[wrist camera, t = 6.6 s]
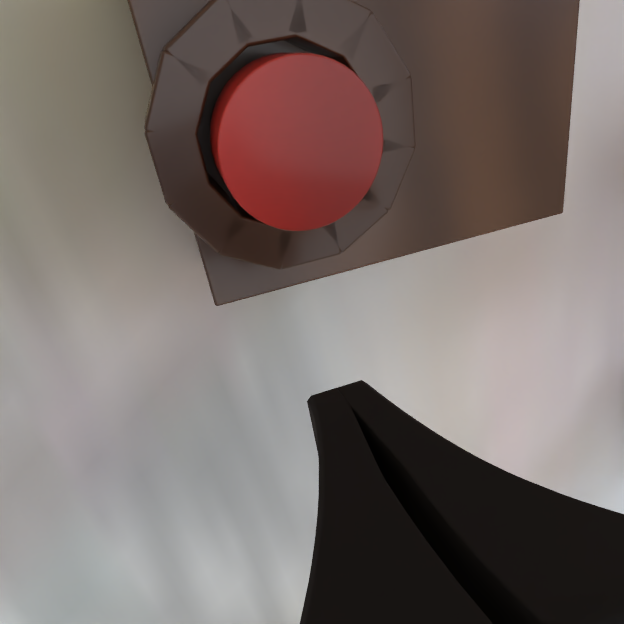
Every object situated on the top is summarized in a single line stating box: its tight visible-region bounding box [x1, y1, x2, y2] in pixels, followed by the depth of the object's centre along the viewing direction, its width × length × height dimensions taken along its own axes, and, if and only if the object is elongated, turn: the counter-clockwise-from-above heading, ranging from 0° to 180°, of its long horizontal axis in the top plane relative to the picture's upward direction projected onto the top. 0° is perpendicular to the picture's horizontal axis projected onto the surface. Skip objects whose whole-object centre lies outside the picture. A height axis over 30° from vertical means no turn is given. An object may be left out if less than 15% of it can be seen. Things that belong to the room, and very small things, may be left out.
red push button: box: [210, 53, 383, 231], centre depth 13 cm, size 4×4×2 cm
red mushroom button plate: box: [128, 0, 580, 306], centre depth 16 cm, size 13×10×6 cm
